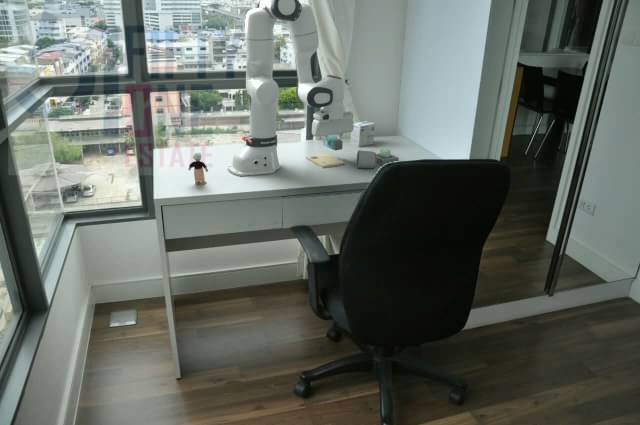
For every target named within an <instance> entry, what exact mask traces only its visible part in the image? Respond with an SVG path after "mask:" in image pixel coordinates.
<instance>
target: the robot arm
mask: <svg viewBox="0 0 640 425" xmlns="http://www.w3.org/2000/svg"><path fill="white" fill-rule="evenodd" d="M315 18H316V16H315V15H314V12H313V9H312V7H311V6H310V5H309V4H307V3H305V2H304V3H303V2H300V1H299V0H259V2H258V4H257V6H256V7H255V8H252V9H250V10H249V11H248V12H247V13H246V18H245V26H244V27H245V29H244V30H245V31H244V35H245V36H244V37H245V54H246V66H245V88H246V92H247V94H248V95H249V97H250V98H251V100H250V104H251V105H250V112H249V117H248V118H249V134H248V136H246V135H244V134H242V136H241V140H242V141H245V144H244V145H243V146H241V147H240V149H238V150H237V151H236V152H235V153H234V154H233V156H232V163H229V164H227V170H228V171H229V172H230V173H231V174H233V175H235V176H239V177H243V176H255V175H267V174H268V175H270V174H275V173H276V171H277V170H279V169H280V168H281V165H280V161H279V155H278V150H277V147H278V135H277V113H278V105H279V98H280V95H281V93H280V91H281V90H280V87H279V85H278V83H277V82H276V81H275V80H274V78H273V72H274V71H273V70H274V69H273V68H274V63H275V39H274V38H275V37H274V36H275V35H274V27H275V24H276V22H277V20H279V21H285V22H286V23H287V25H288V28H289V33H290V34H289V35H290V38H291V39H290V40H291V45H292V49H293V52H294V53H293V54H294V61H295V62H294V63H295V69H296V76H297V82H296V83H297V84H296V88H295V95H296V98H297V100H298V101H299V102H300V103H302V104H304V105H306V106H308V107H311V108H312V109H319V108H322V109H320V110H318V111H316V112H314V113H313V116H312V117H313V121H312V124H311V134H312V135H313V136H314V137H316V138H319V137H321V138H324V139H325V144H326V145H330V141H329V140H328V139H327V138H328V136H330V135H331V136H334V135H337V138H338V139H340V140H341V139H342V138H343V134H346V133H351V132H352V131H353V129H354V124H353V123H354V113H353V112H352V111H350V110H349V111H344V110H345V105H344V99H345V84H344V80H343V78H342V77H340V76H338V75H332V74H329V75H325V77H323V78H322V79H321V80H319V81H318V82H315V81H314V79H313V73H312V65H311V57H312V56H313V55H314V54H315V53H316V51H317V50H318V48H319V40H320V39H319V30H318V25H317V22H316V19H315Z"/></svg>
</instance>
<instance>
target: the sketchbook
mask: <svg viewBox="0 0 640 425" xmlns="http://www.w3.org/2000/svg"><path fill="white" fill-rule="evenodd" d="M305 159H307V160H308V161H310V162H311V163H312V164H315V165H316V166H318V167H320V168H322V169H325V168H330V167H337V166H343V165H345V162H343V161H342V160H340V159H338V158H336V157H334V156H332V155H330V154H329V153H319V154H313V155H305Z"/></svg>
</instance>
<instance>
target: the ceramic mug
mask: <svg viewBox="0 0 640 425" xmlns="http://www.w3.org/2000/svg"><path fill="white" fill-rule="evenodd" d="M376 154H377V153H376V152H375V151H371V150H369V151H367V150H361V149H360V150H358V151H357V154H356V168H357V169H375V168H376V166H377V164H376V161H377V155H376Z"/></svg>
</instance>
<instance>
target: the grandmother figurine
mask: <svg viewBox="0 0 640 425" xmlns="http://www.w3.org/2000/svg"><path fill="white" fill-rule="evenodd" d="M202 156H203V155H202V153H201V152H199V151H197V152H194V153H193V155H192V159H193V160H194V161H192V162H191V163H189V165H188V168H187V169H188V171H191V169H192V168H193V176H194V181H195V182H194V185H202V186H203V185H206V184H207V183H208V182H207V181H206V179H205V172H209V169H208V167H207V165H206V163H205V162H203V161H201V160H202ZM204 171H205V172H204Z"/></svg>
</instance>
